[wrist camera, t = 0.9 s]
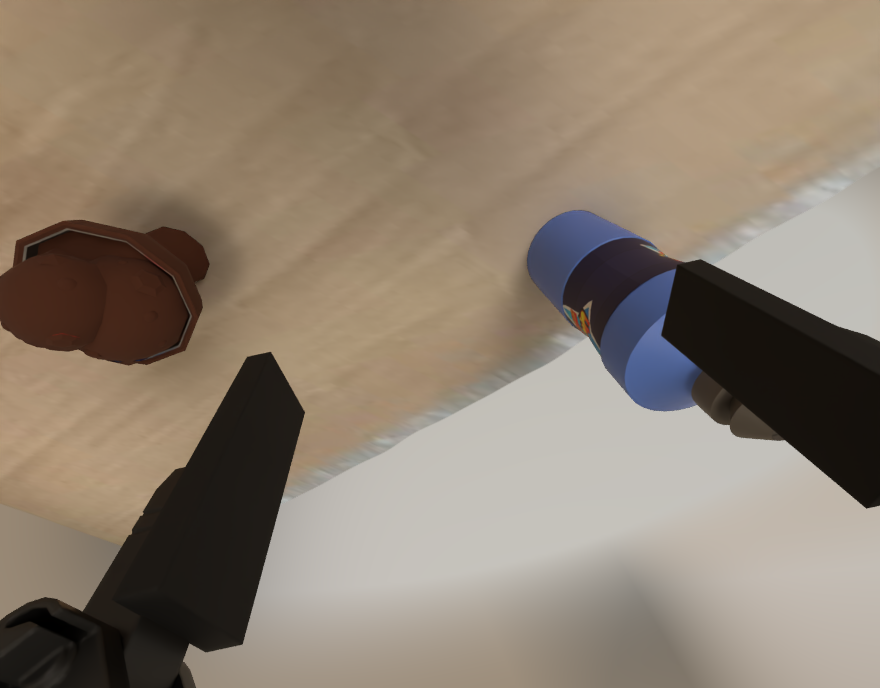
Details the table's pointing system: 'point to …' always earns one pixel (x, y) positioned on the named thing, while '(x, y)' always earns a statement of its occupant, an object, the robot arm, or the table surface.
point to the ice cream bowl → (104, 291)
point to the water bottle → (628, 315)
